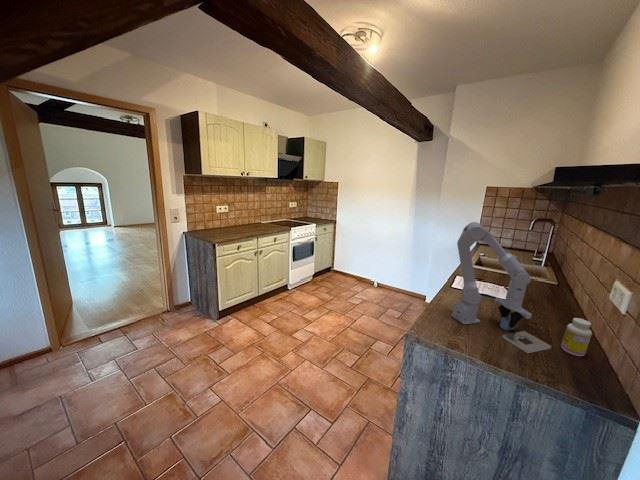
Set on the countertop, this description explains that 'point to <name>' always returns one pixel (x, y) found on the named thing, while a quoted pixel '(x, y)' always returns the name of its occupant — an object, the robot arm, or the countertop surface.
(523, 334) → the plate
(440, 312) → the countertop surface
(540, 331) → the countertop surface
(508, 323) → the block
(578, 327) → the supplement bottle
